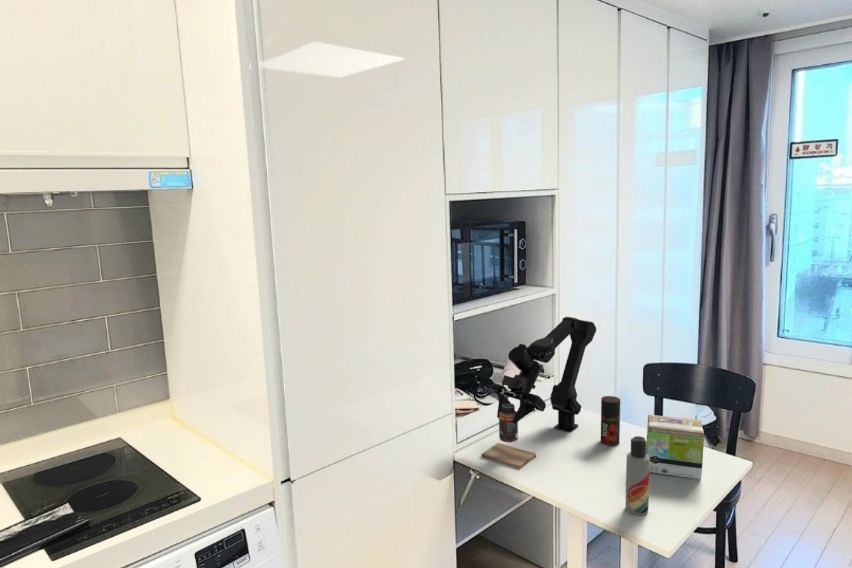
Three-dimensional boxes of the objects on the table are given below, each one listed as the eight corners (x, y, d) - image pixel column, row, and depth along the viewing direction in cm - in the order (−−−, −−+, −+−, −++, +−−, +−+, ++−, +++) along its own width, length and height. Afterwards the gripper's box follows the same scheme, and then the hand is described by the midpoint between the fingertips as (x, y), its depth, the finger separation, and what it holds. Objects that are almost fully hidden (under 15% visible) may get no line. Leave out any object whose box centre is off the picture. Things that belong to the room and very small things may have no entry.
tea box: (646, 473, 171) (647, 426, 168) (645, 458, 180) (647, 413, 178) (702, 480, 166) (704, 432, 163) (699, 464, 175) (701, 418, 173)
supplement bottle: (522, 439, 183) (522, 405, 181) (508, 445, 179) (507, 410, 177) (509, 433, 188) (508, 400, 185) (495, 438, 184) (494, 404, 182)
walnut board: (498, 445, 192) (498, 442, 192) (535, 456, 184) (535, 453, 184) (481, 457, 185) (481, 454, 185) (520, 469, 176) (520, 466, 176)
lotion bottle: (645, 518, 148) (648, 444, 145) (623, 512, 151) (624, 440, 148) (650, 507, 153) (652, 436, 150) (628, 502, 156) (629, 431, 153)
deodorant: (621, 440, 193) (622, 397, 190) (616, 447, 188) (617, 403, 185) (603, 437, 196) (604, 394, 194) (598, 444, 191) (599, 400, 189)
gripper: (493, 359, 189) (470, 400, 184) (539, 371, 175) (517, 416, 170) (509, 376, 195) (488, 417, 190) (555, 389, 182) (534, 433, 176)
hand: (505, 420), depth 181 cm, fingers closed on supplement bottle, 6 cm apart
